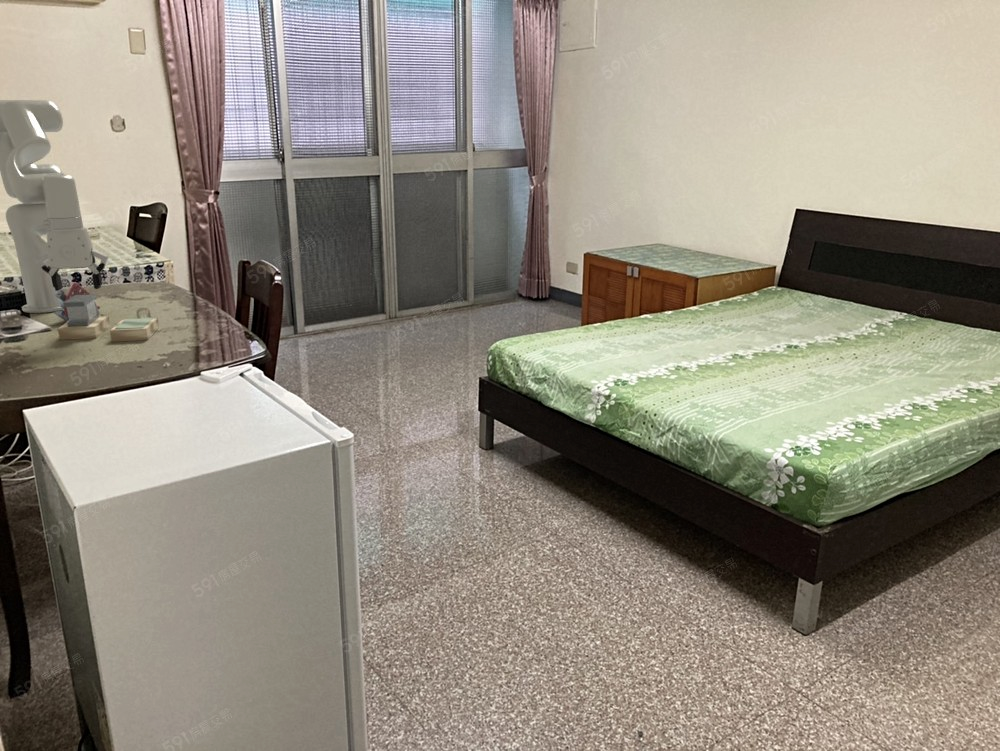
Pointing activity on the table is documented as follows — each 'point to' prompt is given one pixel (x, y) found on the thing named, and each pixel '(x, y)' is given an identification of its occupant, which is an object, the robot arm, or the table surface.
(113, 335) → the stand
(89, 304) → the block
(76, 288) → the motor mount assembly
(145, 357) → the table surface
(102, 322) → the stand
